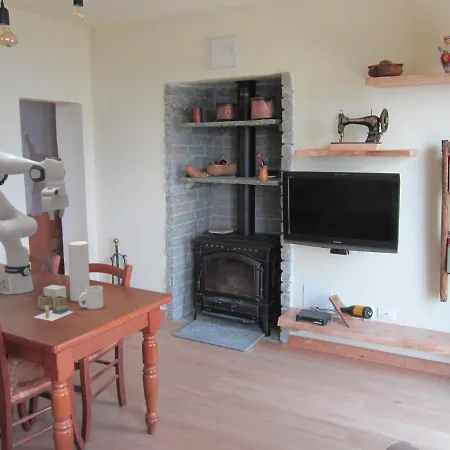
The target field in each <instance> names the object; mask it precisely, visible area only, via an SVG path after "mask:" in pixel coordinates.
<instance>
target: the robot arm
mask: <svg viewBox="0 0 450 450" xmlns="http://www.w3.org/2000/svg"><path fill="white" fill-rule="evenodd" d="M24 174H29V177H30V179H31V181H32V182H33V183H36V184H44V183H45V187H44V188H43V189H42V190H41V192H40V195H41V196H42V197H41V205H42V206H41V207H42V210H43V212H47V214H48V216H49V220H50V221H53V220H55V219H56V217H55V215H54V211H57V210H59V213H58V217H59V218H64V217H65V215H64V214H65V210H66V208H69V206H70V204H69V201H70V200H69V194H68V192H67V191H66V184H65V183H66V182H65V175H66V171H65V166H64V160H63V159H62V158H61V157H58V156H47V157H45V159H44V160H42V161H41V162H40V161H36V160H33V159H28V158H25V157H23V156H19V155H16V154H13V153H10V152H7V151H0V186H4V183H5V182H6V181H7V179H8V177H9V175H12V176H14V175H15V176H16V175H24ZM37 231H38V222H37V220H36V219H35V218H33V217H32V216H29V215H26V214H25V213H22V212H21V211H20V210H19V209H18V208H16V207H15V206H13V204H12V203H11V202H10V200H9V199H8V198H7V197H6V196H5V194H4V193H3V192H2V191H1V190H0V243H1V244H2V246H3V248H4V251H5V258H6V259H5V260H6V265H3V269H4V272H2V273H1V274H0V294H3V295H5V296H7V295H16V294H17V295H18V294H25V293H28V292H32V291H33V290H34V289H35V288H34V284H33V279H32V274H31V263H30V256H29V248H27V247H26V246H24V245H23V244H22V240H21V239H24V238H28V237H31V236H33V235H35V234H36V233H37Z"/></svg>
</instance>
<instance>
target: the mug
mask: <svg viewBox="0 0 450 450" xmlns="http://www.w3.org/2000/svg"><path fill="white" fill-rule="evenodd" d="M83 296H85V302H84V304H83V301H81V300H82V297H83ZM78 305H79V306H80V307H81V308H84V309H85V308H86V309H87V310H88V309H89V310H97V309H102V308H103V307H104V288H103V286H101V285H89V287H86V288H85V292H84V293H82V294H81V295H80V297H79V301H78Z"/></svg>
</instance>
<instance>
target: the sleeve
mask: <svg viewBox="0 0 450 450" xmlns="http://www.w3.org/2000/svg"><path fill="white" fill-rule="evenodd" d="M45 306H49V310H50V309H51V310H52V309H53V305H52V296H49V295H44V294H42V295H40V296H37V310H41V311H44V312H45Z"/></svg>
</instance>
